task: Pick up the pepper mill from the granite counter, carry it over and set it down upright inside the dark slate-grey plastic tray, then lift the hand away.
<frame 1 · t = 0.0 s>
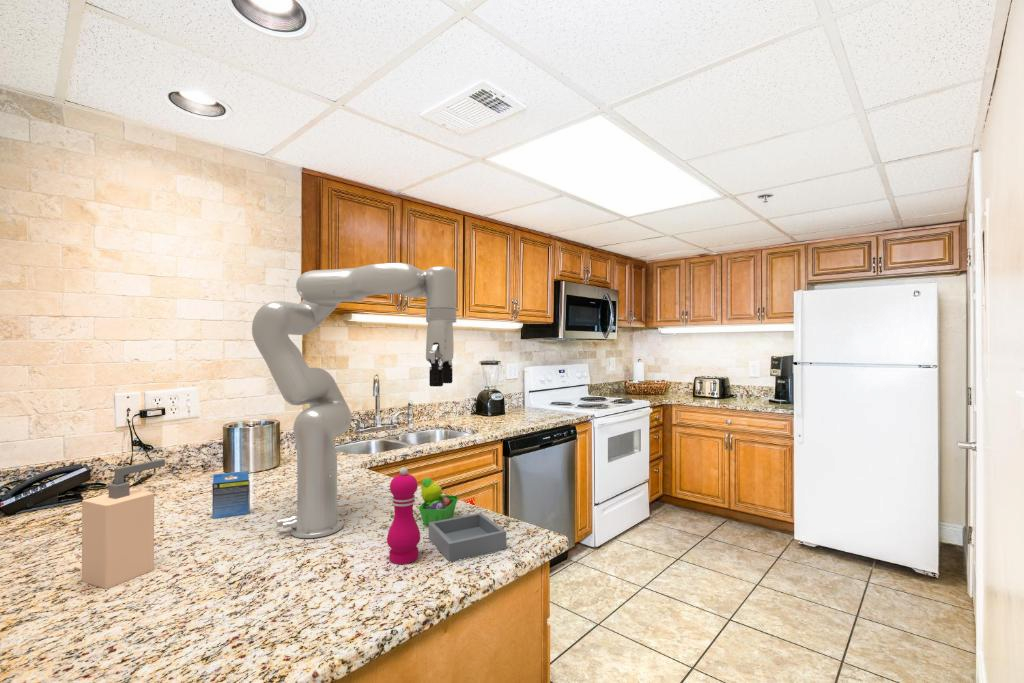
hand: (441, 384, 117), 37 cm above the countertop, tool pointing down, fingers open, 9 cm apart
label tape box: (231, 515, 131), on the countertop
soap dispenser: (130, 571, 98), on the countertop
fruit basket: (437, 521, 126), on the countertop
pepper mill: (403, 558, 103), on the countertop
tray: (466, 543, 110), on the countertop
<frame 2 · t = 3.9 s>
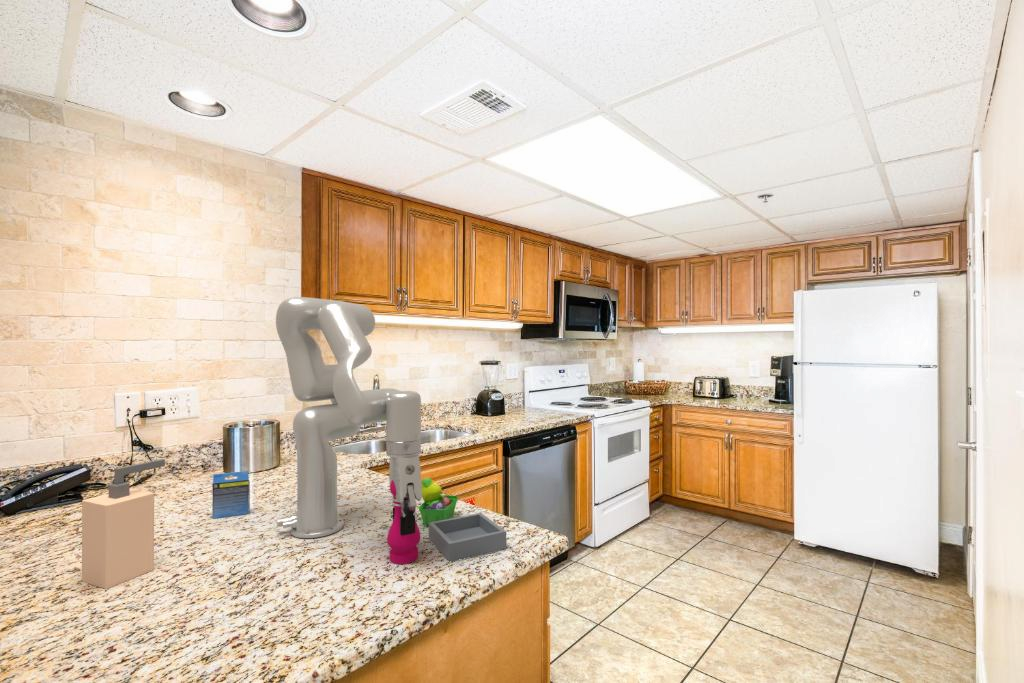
hand: (403, 528, 103), 7 cm above the countertop, tool pointing down, fingers closed on pepper mill, 5 cm apart
pepper mill: (403, 558, 103), on the countertop, touching gripper
everything else where it was.
when the fingers open (8 cm above the countertop, at t = 12.0 s): pepper mill stays where it is, resting on tray.
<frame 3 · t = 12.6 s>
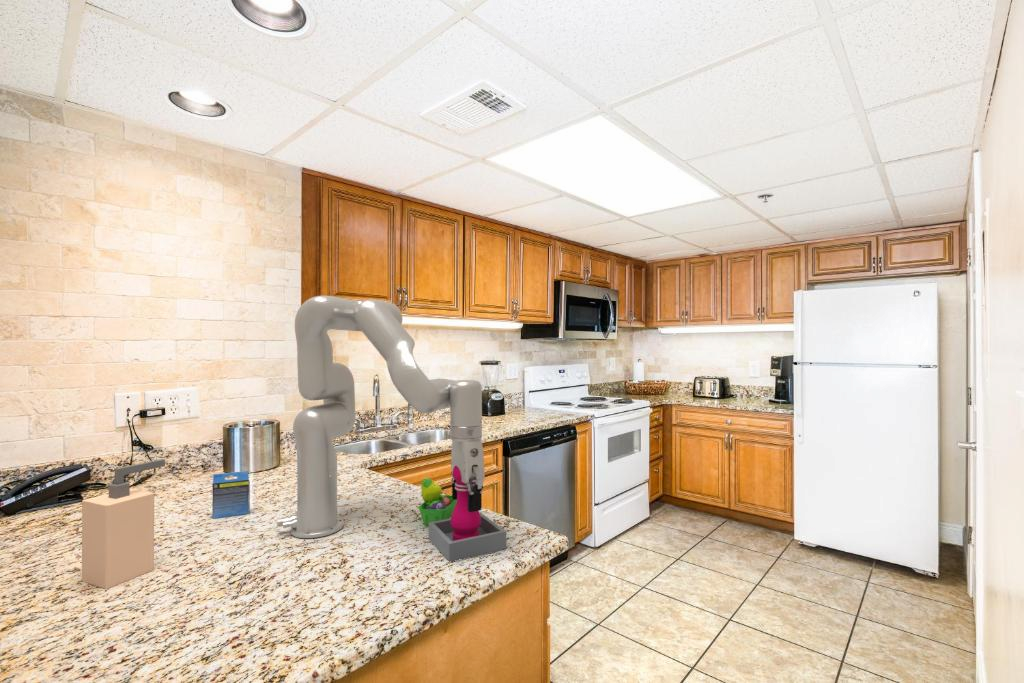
hand: (466, 504, 111), 9 cm above the countertop, tool pointing down, fingers open, 9 cm apart
pepper mill: (466, 540, 110), point 1 cm above the countertop, touching tray
everything else where it was.
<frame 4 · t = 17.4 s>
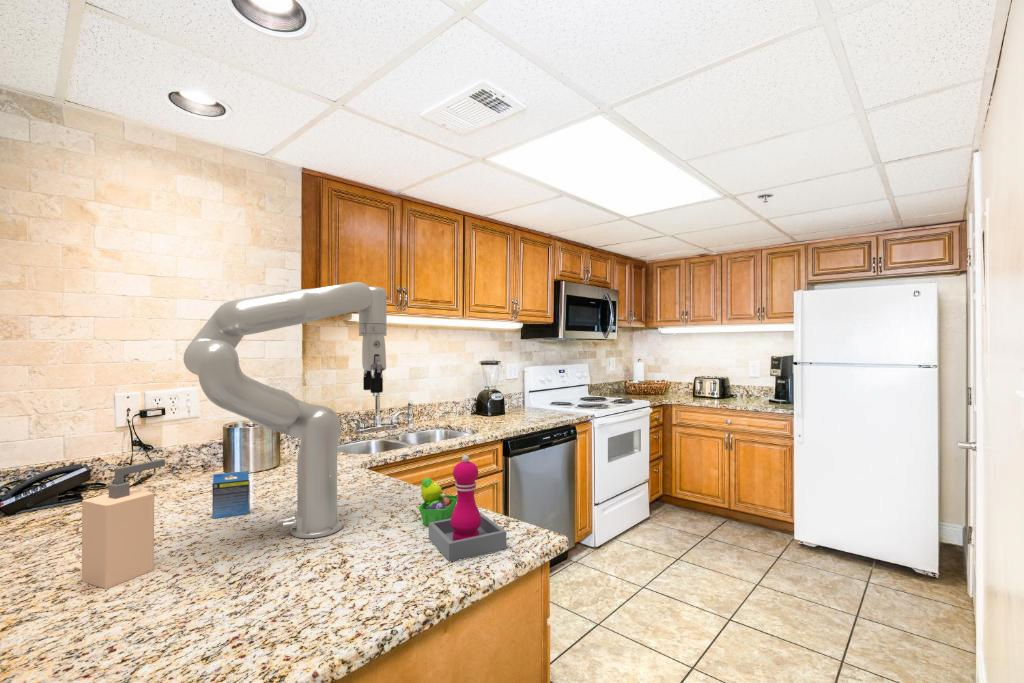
hand: (372, 391, 132), 34 cm above the countertop, tool pointing down, fingers open, 9 cm apart
nothing on the countertop moved.
at the end: pepper mill inside the target area on the tray (0.1 cm from its centre), point 0.8 cm above the tray's base; pepper mill tilted 0°; the gripper is holding nothing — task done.
